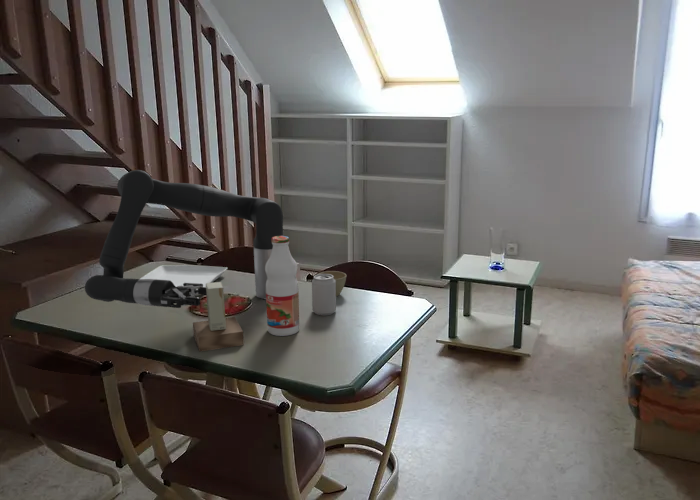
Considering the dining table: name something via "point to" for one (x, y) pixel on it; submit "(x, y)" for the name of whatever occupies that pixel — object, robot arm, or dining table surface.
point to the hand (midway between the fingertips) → (206, 296)
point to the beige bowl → (337, 280)
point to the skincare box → (215, 306)
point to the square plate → (186, 274)
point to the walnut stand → (218, 335)
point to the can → (323, 294)
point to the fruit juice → (282, 290)
